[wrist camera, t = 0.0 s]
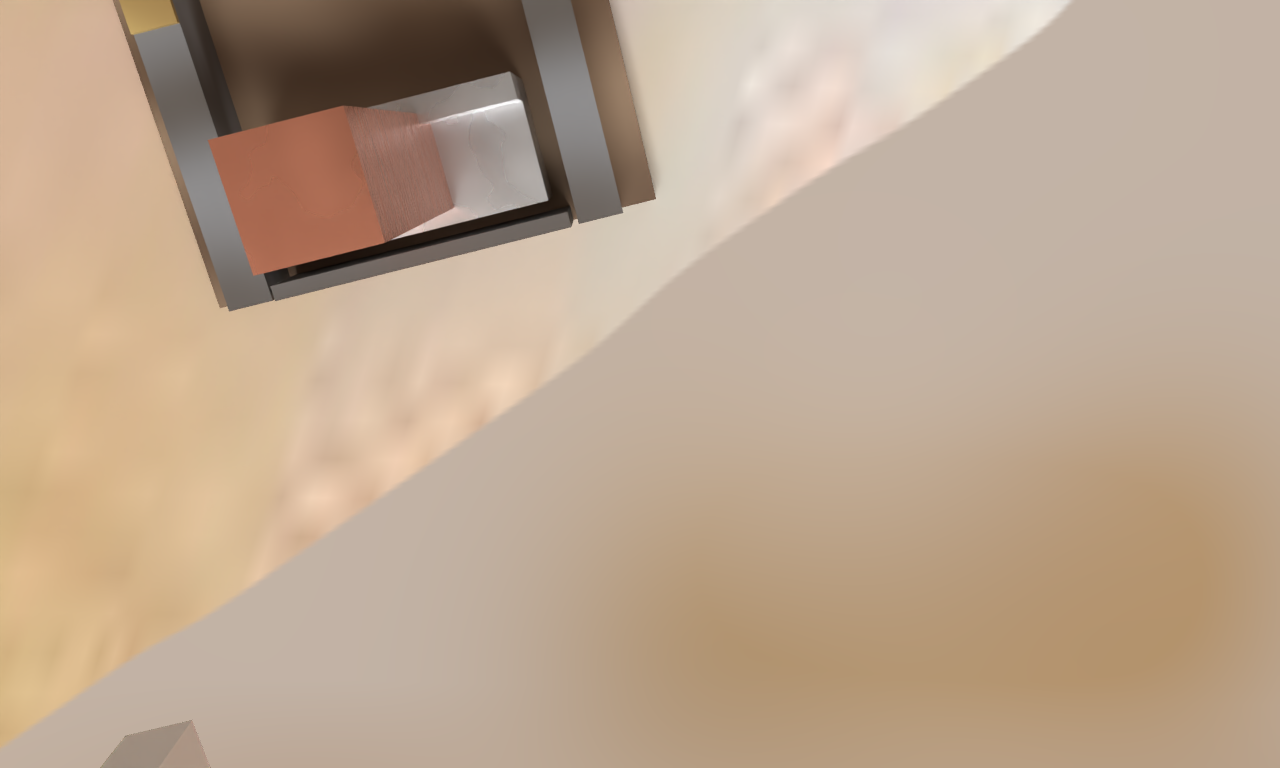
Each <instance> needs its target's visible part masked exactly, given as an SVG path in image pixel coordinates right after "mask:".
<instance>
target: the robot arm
mask: <svg viewBox="0 0 1280 768" xmlns="http://www.w3.org/2000/svg"><path fill="white" fill-rule="evenodd" d="M100 768H210V765H209V763H208V760H207V757H206V755H205V752H204V750H203V747H202V745H201V742H200V740H199V737H198V734H197V732H196V729H195V726H194V724H193V722H192V720H190V721H186V722H182V723H178V724H174V725H169V726H165V727H161V728H157V729H153V730H148V731H144V732H140V733H136V734H131V735H127V736H125V737H124V738H123V740H122V741H121V742H120V743H119V745H118V746H117V747H116V748H115V750H114V751H113V752H112V753H111V755H110V756H109V757H108V759H107V760H106V761H105V762H104V764H103V765H102V766H101V767H100Z"/></svg>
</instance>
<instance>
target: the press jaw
mask: <svg viewBox="0 0 1280 768" xmlns="http://www.w3.org/2000/svg"><path fill="white" fill-rule="evenodd" d="M208 142H209V145H210V148H211V151H212V154H213V157H214V160H215V163H216V166H217V169H218V172H219V175H220V178H221V181H222V184H223V187H224V190H225V193H226V196H227V199H228V202H229V205H230V208H231V211H232V214H233V217H234V220H235V223H236V226H237V228H238V231H239V234H240V237H241V240H242V243H243V246H244V249H245V252H246V255H247V258H248V261H249V264H250V267H251V270H252V273H253V276H255V275H259V274H263V273H267V272H271V271H275V270H279V269H283V268H287V267H291V266H295V265H299V264H303V263H307V262H311V261H315V260H319V259H323V258H327V257H331V256H335V255H339V254H343V253H347V252H351V251H355V250H359V249H363V248H366V247H370V246H374V245H378V244H382V243H386V242H388V241H390V240H393V239H397V238H401V237H405V236H409V235H413V234H417V233H421V232H425V231H429V230H433V229H437V228H441V227H445V226H449V225H453V224H457V223H461V222H465V221H469V220H473V219H477V218H481V217H485V216H489V215H493V214H497V213H501V212H504V211H508V210H512V209H516V208H520V207H524V206H528V205H532V204H536V203H540V202H544V201H548V200H549V199H550V198H551V197H552V191H551V187H550V183H549V179H548V175H547V172H546V168H545V164H544V160H543V156H542V153H541V149H540V145H539V141H538V137H537V133H536V130H535V126H534V122H533V118H532V114H531V110H530V107H529V103H528V99H527V95H526V91H525V87H524V84H523V80H522V79H520V78H519V77H517V76H516V75H514V74H513V73H511V72H506V73H502V74H498V75H494V76H490V77H486V78H482V79H478V80H475V81H471V82H467V83H463V84H459V85H455V86H451V87H447V88H443V89H439V90H435V91H431V92H427V93H423V94H419V95H415V96H412V97H408V98H404V99H400V100H396V101H392V102H388V103H384V104H380V105H376V106H372V107H368V108H362V107H352V106H339V107H335V108H331V109H328V110H324V111H320V112H316V113H312V114H308V115H304V116H300V117H296V118H292V119H288V120H284V121H280V122H276V123H272V124H269V125H265V126H261V127H257V128H253V129H249V130H245V131H241V132H237V133H233V134H229V135H225V136H221V137H217V138H213V139H209V140H208Z"/></svg>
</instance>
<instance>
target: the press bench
mask: <svg viewBox="0 0 1280 768" xmlns="http://www.w3.org/2000/svg"><path fill="white" fill-rule="evenodd" d="M113 2H114V4H115V7H116V10H117V13H118V16H119V19H120V22H121V25H122V27H123V30H124V33H125V36H126V39H127V42H128V45H129V48H130V51H131V53H132V56H133V59H134V62H135V65H136V68H137V71H138V74H139V76H140V79H141V82H142V85H143V88H144V91H145V94H146V97H147V99H148V102H149V105H150V108H151V111H152V114H153V117H154V120H155V122H156V125H157V128H158V131H159V134H160V137H161V140H162V143H163V145H164V148H165V151H166V154H167V157H168V160H169V163H170V166H171V168H172V171H173V174H174V177H175V180H176V183H177V186H178V189H179V191H180V194H181V197H182V200H183V203H184V206H185V209H186V212H187V215H188V217H189V220H190V223H191V226H192V229H193V232H194V235H195V238H196V240H197V243H198V246H199V249H200V252H201V255H202V258H203V261H204V263H205V266H206V269H207V272H208V275H209V278H210V281H211V284H212V286H213V289H214V292H215V295H216V298H217V301H218V304H219V307H220V308H222V307H226V306H228V309H229V311H233V310H237V309H241V308H245V307H249V306H253V305H257V304H261V303H265V302H269V301H273V300H275V301H277V300H281V299H285V298H289V297H293V296H297V295H301V294H305V293H309V292H313V291H317V290H321V289H325V288H329V287H333V286H337V285H341V284H345V283H349V282H353V281H357V280H361V279H365V278H369V277H373V276H377V275H381V274H385V273H389V272H393V271H397V270H401V269H405V268H409V267H413V266H417V265H421V264H425V263H429V262H433V261H437V260H441V259H445V258H449V257H453V256H457V255H461V254H465V253H469V252H473V251H477V250H481V249H485V248H489V247H493V246H497V245H501V244H505V243H509V242H513V241H517V240H521V239H525V238H529V237H533V236H537V235H541V234H545V233H549V232H553V231H557V230H561V229H565V228H569V227H571V226H572V223H573V220H574V219H578V222H579V224H580V223H584V222H588V221H592V220H596V219H600V218H604V217H608V216H612V215H616V214H620V213H623V211H622V207H626V206H630V205H634V204H638V203H642V202H646V201H650V200H654V199H656V197H655V193H654V188H653V184H652V180H651V176H650V172H649V167H648V163H647V159H646V155H645V150H644V146H643V142H642V138H641V134H640V129H639V125H638V121H637V117H636V113H635V108H634V104H633V100H632V96H631V92H630V87H629V83H628V79H627V75H626V70H625V66H624V62H623V58H622V54H621V49H620V45H619V41H618V37H617V33H616V28H615V24H614V20H613V16H612V12H611V7H610V3H609V0H113ZM506 72H511V73H513V74H514V75H516V76H517V77H519V78H520V79H522V80H523V84H524V87H525V91H526V95H527V99H528V103H529V107H530V110H531V114H532V118H533V122H534V126H535V130H536V133H537V137H538V141H539V145H540V149H541V153H542V156H543V160H544V164H545V168H546V172H547V175H548V179H549V183H550V187H551V191H552V197H551V198H550V199H549V200H548V201H544V202H540V203H536V204H532V205H528V206H524V207H520V208H516V209H512V210H508V211H504V212H501V213H497V214H493V215H489V216H485V217H481V218H477V219H473V220H469V221H465V222H461V223H457V224H453V225H449V226H445V227H441V228H437V229H433V230H429V231H425V232H421V233H417V234H413V235H409V236H405V237H401V238H397V239H393V240H390V241H388V242H386V243H382V244H378V245H374V246H370V247H366V248H363V249H359V250H355V251H351V252H347V253H343V254H339V255H335V256H331V257H327V258H323V259H319V260H315V261H311V262H307V263H303V264H299V265H295V266H291V267H287V268H283V269H279V270H275V271H271V272H267V273H263V274H259V275H255V276H253V273H252V270H251V267H250V264H249V261H248V258H247V255H246V252H245V249H244V246H243V243H242V240H241V237H240V234H239V231H238V228H237V226H236V223H235V220H234V217H233V214H232V211H231V208H230V205H229V202H228V199H227V196H226V193H225V190H224V187H223V184H222V181H221V178H220V175H219V172H218V169H217V166H216V163H215V160H214V157H213V154H212V151H211V148H210V145H209V142H208V140H209V139H213V138H217V137H221V136H225V135H229V134H233V133H237V132H241V131H245V130H249V129H253V128H257V127H261V126H265V125H269V124H272V123H276V122H280V121H284V120H288V119H292V118H296V117H300V116H304V115H308V114H312V113H316V112H320V111H324V110H328V109H331V108H335V107H339V106H352V107H362V108H368V107H372V106H376V105H380V104H384V103H388V102H392V101H396V100H400V99H404V98H408V97H412V96H415V95H419V94H423V93H427V92H431V91H435V90H439V89H443V88H447V87H451V86H455V85H459V84H463V83H467V82H471V81H475V80H478V79H482V78H486V77H490V76H494V75H498V74H502V73H506Z"/></svg>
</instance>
